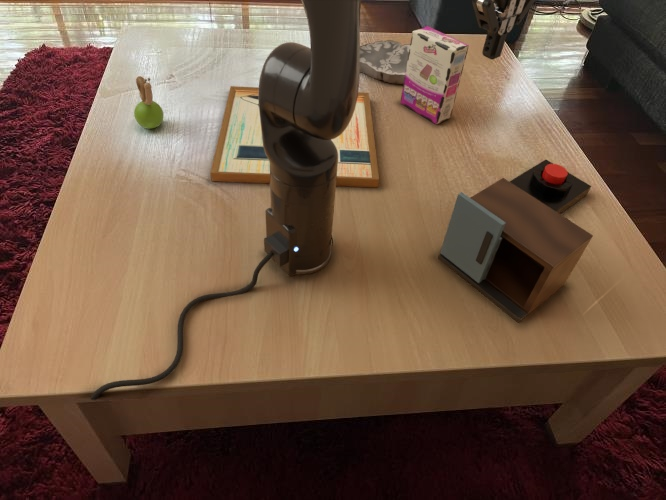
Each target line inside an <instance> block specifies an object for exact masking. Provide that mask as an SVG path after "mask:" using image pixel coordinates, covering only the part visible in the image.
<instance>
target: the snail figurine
mask: <svg viewBox="0 0 666 500" xmlns="http://www.w3.org/2000/svg"><path fill="white" fill-rule="evenodd" d="M150 81H151V78H150V77H147V78H144V76H140V75H139V76H137V77H136V78H135V83H136V86H137V89H138V91H139V98H140V100H141V101H140V102H138V103H137V105H135V108H134V110H133V114H134V115H133V116H134V119H135V122H137V124H138V125H139V126H141V127H143V128H144V129H149V130H150V129H156V128H158V127H159V126H160V125H161V124H162V123H163V120H164V111H163V108H162V107H161V105H160V104H159V103H158V102H156V101H154V100H153V98H154V97H153V91H152V85H151V82H150Z"/></svg>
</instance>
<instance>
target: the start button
mask: <svg viewBox="0 0 666 500" xmlns="http://www.w3.org/2000/svg"><path fill="white" fill-rule="evenodd" d="M568 172H569V171H568V170H567V169H566V168H565V167H564V166H563V165H560V164H557V163H553V164H548V165H547V166H546V167H545V169H544V171H543V173H542V178H543V179H544V180H546V181H547V182H549V183H552V184H555V185H559V184H562V183H564V181H565V179H566V177H567V175H568Z"/></svg>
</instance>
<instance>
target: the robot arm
mask: <svg viewBox="0 0 666 500" xmlns="http://www.w3.org/2000/svg"><path fill="white" fill-rule="evenodd" d="M300 1H301V3H302V6H303V10H304V12H305V16H306V21H307V27H308V33H309V42H310V43H309V44H310V47H309V46H306V45H303V44H301V43H298V42H293V41H292V42H291V41H289V42H284V43H281V44H279V45H277V46H276V47H275V48H273V50H272V51H271V52H270V53H269V54H268V56H267V57H266V59H265V61H264V62H263V65H262V68H261V71H260V75H259V80H258V88H259V89H258V101H259V113H260V122H261V131H262V142H263V148H264V151H265V154H266V156H267V157H268V159H269V164H270V183H269V186H270V187H269V189H270V193H269V194H270V207H269V208H266V209H265V212H264V213H265V234H266V236H265V237H264V238H263V246H264V247H263V249H264V250H263V251H264V252H265V253H266V255H265V256H264V257H263V258H262V259H261V261H259V263H258V264H257V266H256V267H255V269H254V271H253V274H252V277H251V281H250V282H249V283H248V284H247V285H246V286H244V287H242V288H240V289H237V290H233V291H228V292H227V291H226V292H215V293H209V294H204V295H201V296H198V297H196V298H194V299H193V300H191V301H190V302H189V303H188V304H187V305H186V306H185V307H184V308H183V309H182V311H181V313H180V314H179V317H178V320H177V331H176V332H177V345H176V346H177V347H176V353H175V356H174V359H173V360H172V363H171V364H170V365H169V366H168V367H167V368H166V369H165V370H164V371H163V372H161V373H158V374H157V375H155V376H152V377H147V378H138V379H123V380H116V381H111V382H107V383H105V384H103V385H101V386H100V387H98V388H97V389H96V390H95V391H93V393H92V394H91V396H90V398H89V399H90V400H92V401H94V400H97V399H98V398H99V397H100V395H102V394H104V393H105V392H107V391H109V390H112V389H115V388H122V387H135V386H146V385H150V384H155V383H157V382H159V381H161V380H164V379H165V378H167V377H168V376H169V375H171V374H172V373H173V371H174V370H176V368H177V367H178V365H179V364H180V362H181V358H182V356H183V353H184V324H185V319H186V316H187V314H188V313H189V311H190V310H191V309H193V307H194V306H196V305H197V304H199V303H202V302H204V301H209V300H214V299H221V298H225V297H232V296H239V295H243V294H245V293H248V292H249V291H250V290H252V289H253V288H254V287H255V286H256V284H257V282H258V278H259V274H260V272H261V270H262V269H263V267H264V266H266V264H267V263H268V262H269V261H270V260H272V261H273V262H274V263H275V264H276V265H277V267H279V268H280V269H281V270H282V271H283V272H284V273H285V274H286V275H287V276H288V277H293V276H294V275H309V274H313V273H316V272H319V271H320V270H322V269H323V268H324V267H326V266H327V264H328V263H329V262H330V260H331V256H332V247H334V239H333V225H334V214H335V201H336V191H337V186H336V180H337V168H338V151H337V148H336V146H335V144H334V143H333V142H332V140H331V139H334V138H336V137H338V136H339V135H341V134H342V133H343V132H344V130H345V129H346V128H347V126H348V125H349V123H350V120H351V118H352V116H353V113H354V110H355V106H356V102H357V98H358V92H359V88H360V73H361V72H360V46H361V9H362V6H361V4H362V0H300ZM535 1H536V0H471V4H472V7H473V10H474V14H475V18H476V22H477V25H478V28H480V29H484V30H485V31H486V37H485V40H484V44H483V47H482V52H481V53H482V55H483V57H485V58H487V59H488V60H495V59H498V58H500V57H501V55H502V52H503V49H504V45H505V42H506V39H507V36H508V34H509V33H511V31H512V29H513V28H514V25H517V26H518V25H520V24H521V22H522V20H524V18H525V16H527V14H528V12H529V10H530V9H531V7H532V6H533V5H534V3H535Z"/></svg>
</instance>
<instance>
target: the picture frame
mask: <svg viewBox="0 0 666 500" xmlns="http://www.w3.org/2000/svg"><path fill="white" fill-rule="evenodd" d="M258 89H259V86H258V87H256V86H235V85H230V86H229V91H228V96H227V99H226V103H225V104H226V105H225V108H224V113H223V116H222V121H221V126H220V130H219V134H218V138H217V142H216V146H215V151H214V156H213V160H212V164H211V168H210V172H209V173H210V180H211V182H225V183H228V182H229V183H250V184H251V183H253V184H270V164H269V159H268V157H267V156H266V154H265V151H264V148H263V142H262V131H261V122H260V113H259V101H258ZM371 108H372V107H371V99H370V93H369V92H360V91H358V98H357V102H356V106H355V110H354V113H353V116H352V118H351V120H350V123H349V125H348V126H347V128H346V129H345V130H344V132H343V133H342V134H341V135H339V136H338V137H336V138H334V139H331V140H332V142H333V143H334V144H335V146H336V148H337V151H338V168H337V180H336V187H356V188H358V187H359V188H379V184H380V176H379V175H380V174H379V166H378V158H377V151H376V141H375V134H374V124H373V116H372V109H371Z"/></svg>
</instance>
